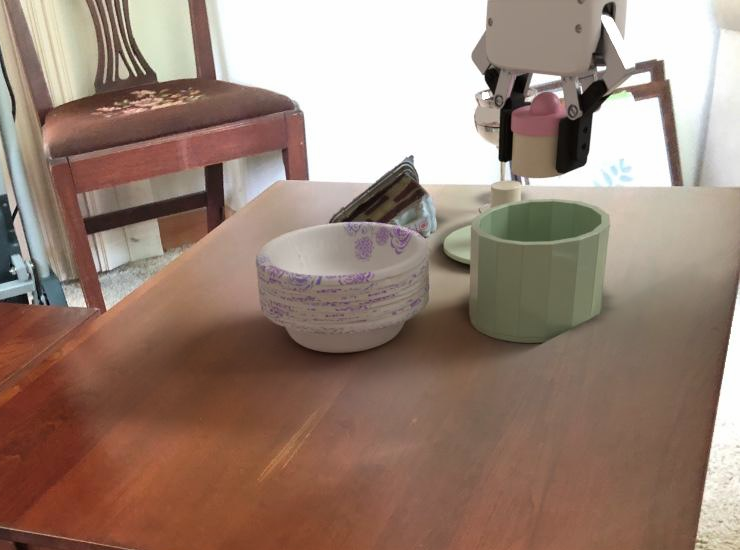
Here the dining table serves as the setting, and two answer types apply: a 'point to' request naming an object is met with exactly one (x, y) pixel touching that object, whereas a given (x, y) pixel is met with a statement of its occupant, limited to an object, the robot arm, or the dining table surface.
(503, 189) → the lid
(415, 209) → the chocolate cake
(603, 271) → the pot
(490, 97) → the wineglass
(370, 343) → the paper bowls
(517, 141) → the cupcake
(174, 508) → the dining table surface
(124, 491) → the dining table surface
